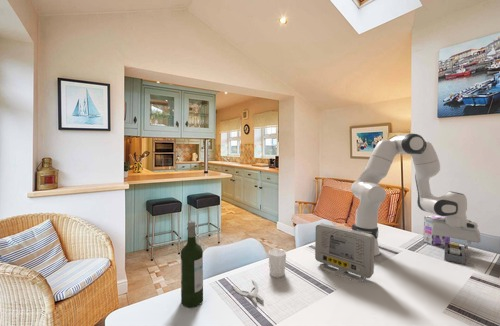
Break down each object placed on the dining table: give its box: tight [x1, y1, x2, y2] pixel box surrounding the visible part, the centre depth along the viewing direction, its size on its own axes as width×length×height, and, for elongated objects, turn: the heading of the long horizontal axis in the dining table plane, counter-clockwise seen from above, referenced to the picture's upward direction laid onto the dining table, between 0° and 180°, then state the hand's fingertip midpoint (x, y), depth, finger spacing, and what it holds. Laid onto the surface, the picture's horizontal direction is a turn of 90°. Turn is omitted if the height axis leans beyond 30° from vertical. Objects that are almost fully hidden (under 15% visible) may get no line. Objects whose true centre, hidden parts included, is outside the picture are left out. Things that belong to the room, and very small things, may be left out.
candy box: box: [423, 214, 451, 246], centre depth 143 cm, size 14×6×16 cm, turn 104°
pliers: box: [232, 280, 265, 306], centre depth 92 cm, size 10×2×15 cm
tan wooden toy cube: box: [449, 241, 460, 249], centre depth 129 cm, size 4×4×5 cm
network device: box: [314, 222, 375, 283], centre depth 108 cm, size 26×9×20 cm, turn 47°
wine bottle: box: [180, 220, 204, 309], centre depth 86 cm, size 8×8×30 cm
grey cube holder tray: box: [443, 243, 467, 266], centre depth 126 cm, size 8×20×3 cm, turn 140°
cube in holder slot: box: [449, 248, 460, 256], centre depth 122 cm, size 4×4×5 cm
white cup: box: [268, 248, 287, 278], centre depth 107 cm, size 8×8×10 cm
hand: (454, 246), depth 129 cm, fingers open, 8 cm apart
